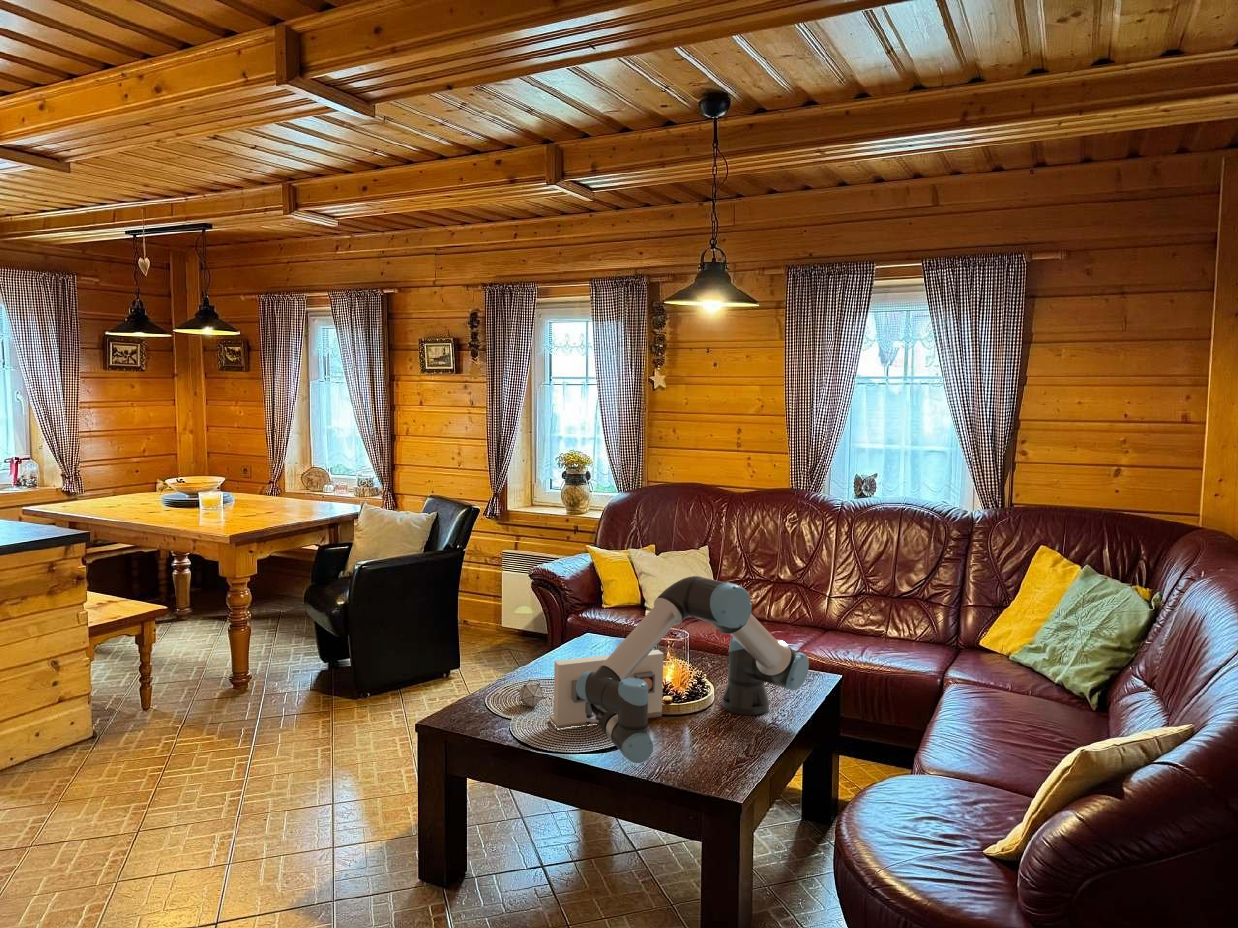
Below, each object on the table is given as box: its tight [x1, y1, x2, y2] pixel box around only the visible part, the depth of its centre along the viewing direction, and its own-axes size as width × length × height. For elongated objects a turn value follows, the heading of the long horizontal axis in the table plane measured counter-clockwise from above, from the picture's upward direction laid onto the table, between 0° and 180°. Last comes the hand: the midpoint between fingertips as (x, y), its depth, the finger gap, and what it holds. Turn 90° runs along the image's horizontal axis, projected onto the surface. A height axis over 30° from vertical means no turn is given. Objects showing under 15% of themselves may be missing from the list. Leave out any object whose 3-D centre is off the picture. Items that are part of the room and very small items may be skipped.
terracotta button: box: [640, 677, 652, 690], centre depth 254 cm, size 2×4×4 cm, turn 112°
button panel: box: [549, 649, 665, 728], centre depth 255 cm, size 11×34×20 cm, turn 112°
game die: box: [516, 678, 546, 709], centre depth 265 cm, size 9×8×10 cm
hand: (588, 695), depth 242 cm, fingers closed
